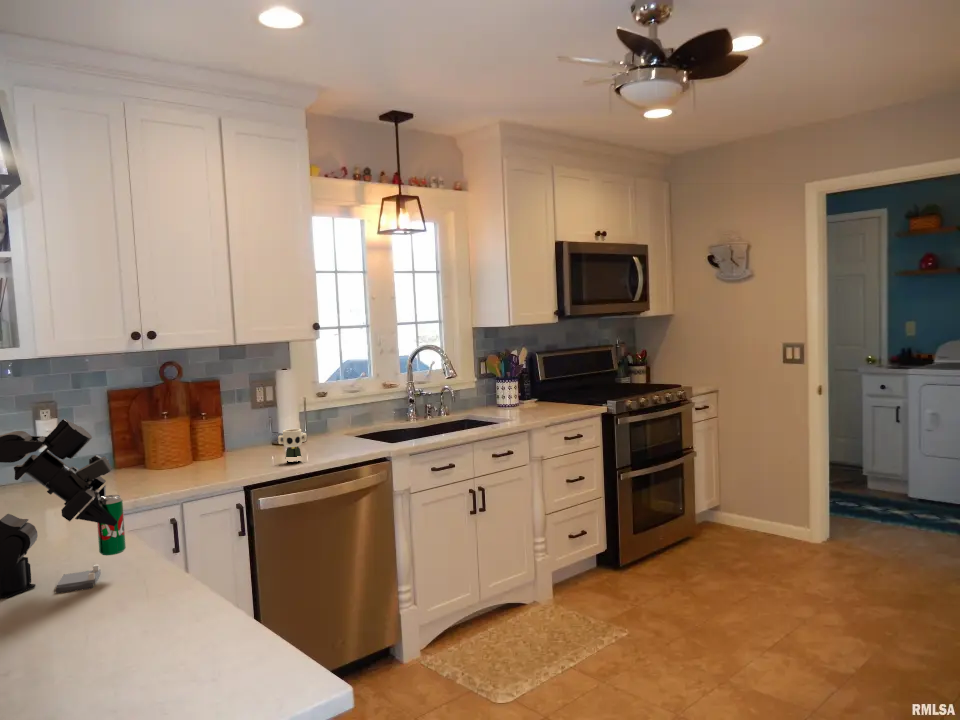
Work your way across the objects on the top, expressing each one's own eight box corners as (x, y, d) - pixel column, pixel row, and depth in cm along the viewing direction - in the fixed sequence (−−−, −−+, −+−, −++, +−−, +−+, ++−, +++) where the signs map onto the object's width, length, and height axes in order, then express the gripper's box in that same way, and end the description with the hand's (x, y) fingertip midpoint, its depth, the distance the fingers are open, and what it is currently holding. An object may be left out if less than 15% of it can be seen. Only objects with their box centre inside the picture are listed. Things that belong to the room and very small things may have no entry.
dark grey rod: (56, 594, 142) (55, 588, 142) (57, 592, 143) (57, 586, 143) (93, 589, 144) (92, 583, 144) (94, 587, 145) (93, 581, 145)
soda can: (119, 547, 154) (116, 493, 154) (130, 551, 151) (126, 496, 150) (95, 553, 150) (91, 498, 150) (105, 557, 147) (101, 501, 146)
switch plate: (56, 590, 144) (56, 579, 144) (64, 579, 151) (63, 568, 150) (95, 584, 146) (94, 573, 146) (100, 573, 153) (100, 563, 153)
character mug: (280, 465, 271) (278, 432, 270) (278, 462, 277) (276, 430, 277) (309, 462, 275) (307, 429, 275) (306, 459, 282) (304, 427, 281)
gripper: (76, 452, 139) (141, 500, 144) (92, 440, 157) (149, 483, 161) (33, 496, 137) (100, 544, 141) (54, 478, 155) (113, 521, 159)
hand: (117, 520), depth 151 cm, fingers closed on soda can, 5 cm apart
